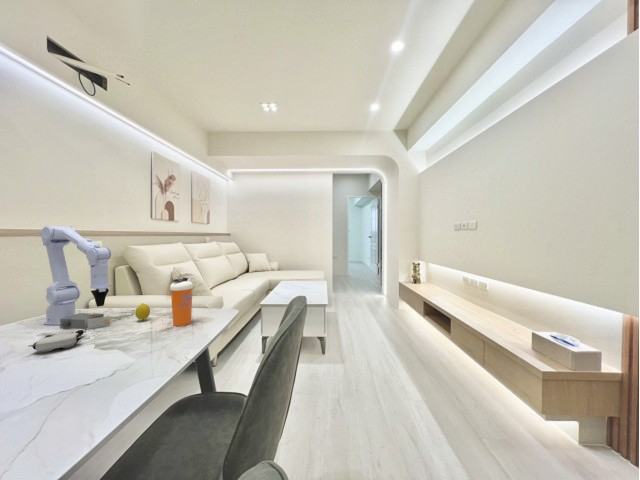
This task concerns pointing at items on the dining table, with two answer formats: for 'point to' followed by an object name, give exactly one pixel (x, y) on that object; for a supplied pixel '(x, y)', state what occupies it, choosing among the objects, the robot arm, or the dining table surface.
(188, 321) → the shaker bottle
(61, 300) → the robot arm
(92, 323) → the door
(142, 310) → the lemon
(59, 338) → the robot toy
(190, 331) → the dining table surface
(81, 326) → the case
